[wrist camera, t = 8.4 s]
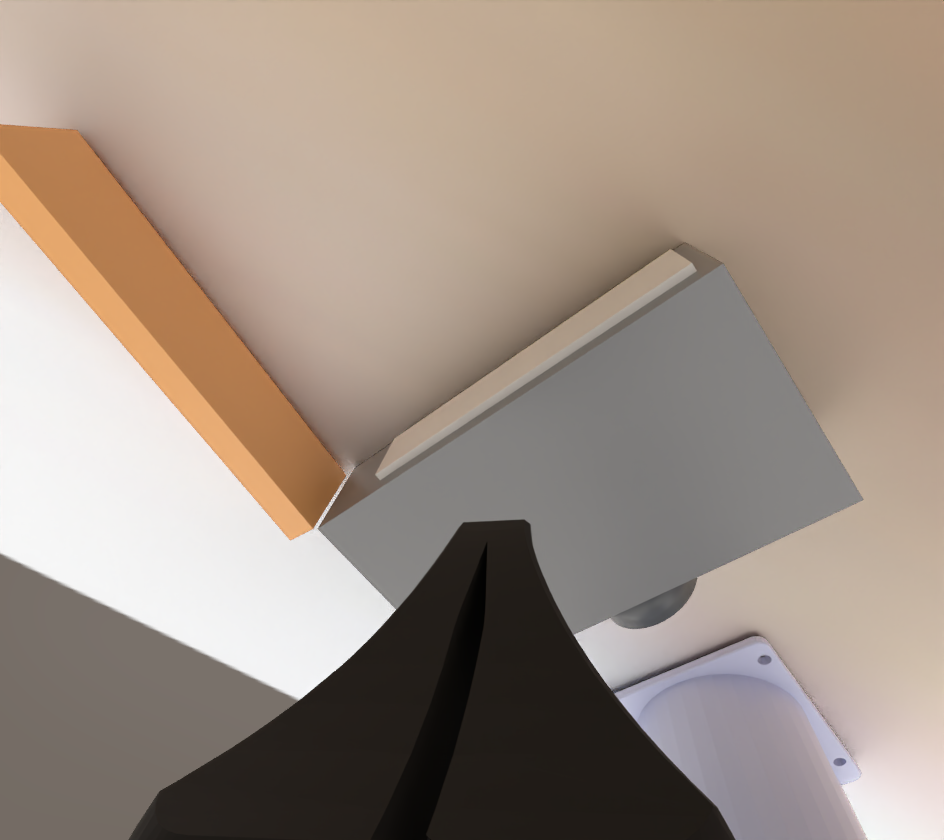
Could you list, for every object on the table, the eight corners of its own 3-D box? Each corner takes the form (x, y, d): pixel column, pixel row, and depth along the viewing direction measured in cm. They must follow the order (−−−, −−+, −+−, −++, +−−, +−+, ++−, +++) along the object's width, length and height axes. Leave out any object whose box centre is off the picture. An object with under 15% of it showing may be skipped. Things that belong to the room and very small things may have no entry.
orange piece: (76, 130, 17) (-26, 122, 14) (346, 475, 22) (312, 528, 18) (41, 164, 18) (-65, 163, 15) (311, 494, 22) (272, 549, 19)
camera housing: (818, 462, 20) (881, 530, 16) (496, 623, 24) (488, 704, 21) (680, 235, 17) (718, 254, 14) (350, 463, 22) (312, 523, 18)
